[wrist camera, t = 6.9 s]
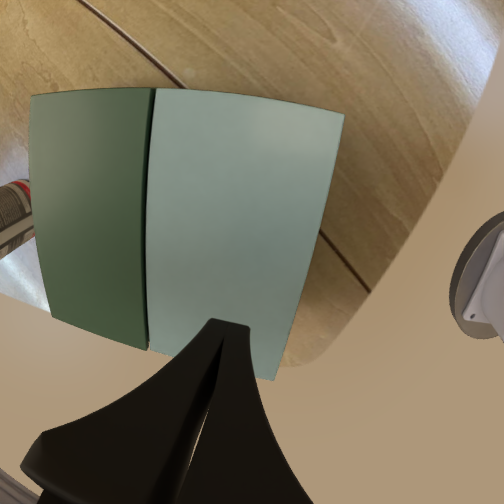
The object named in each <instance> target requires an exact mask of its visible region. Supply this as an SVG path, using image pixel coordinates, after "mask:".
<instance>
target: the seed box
mask: <svg viewBox="0 0 504 504" xmlns="http://www.w3.org/2000/svg"><path fill="white" fill-rule="evenodd" d="M156 89H157V88H151V87H126V88H98V89H83V90H71V91H61V92H52V93H45V94H38V95H32V96H31V101H30V116H29V180H30V195H31V207H32V216H33V225H34V232H35V239H36V246H37V252H38V257H39V263H40V268H41V273H42V278H43V282H44V287H45V291H46V295H47V299H48V303H49V307H50V311H51V315H52V317H54V318H56V319H58V320H61V321H63V322H66V323H68V324H71V325H74V326H76V327H78V328H81V329H84V330H86V331H89V332H92V333H94V334H97V335H100V336H102V337H105V338H108V339H111V340H114V341H117V342H120V343H123V344H126V345H129V346H132V347H135V348H139V349H142V350H145V351H147V349H148V347H149V342H150V340H149V326H148V309H147V286H146V208H147V184H148V167H149V154H150V142H151V131H152V122H153V113H154V105H155V97H156ZM172 89H180V88H172ZM191 90H196V89H191ZM204 91H208V90H204ZM216 92H219V91H216ZM225 93H228V92H225ZM234 94H237V93H234ZM242 95H245V94H242ZM250 96H252V95H250ZM257 97H259V96H257ZM264 98H265V97H264ZM270 99H272V98H270ZM276 100H278V99H276ZM282 101H283V100H282ZM287 102H289V101H287ZM293 103H294V102H293ZM298 104H299V103H298ZM303 105H304V104H303ZM308 106H309V105H308ZM312 107H313V106H312ZM317 108H318V107H317ZM321 109H322V108H321ZM326 110H327V109H326ZM330 111H331V110H330ZM334 112H335V111H334ZM338 113H339V112H338ZM342 114H343V113H342ZM148 341H149V342H148Z"/></svg>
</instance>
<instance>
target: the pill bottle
mask: <svg viewBox="0 0 504 504" xmlns="http://www.w3.org/2000/svg"><path fill="white" fill-rule="evenodd" d="M34 236H35V232H34V225H33V216H32V207H31V195H30V183H29V182H27V181H25V180H16V181H13V182H11V183H8V184H6V185H4V186H2V187H0V260H1V259H2V258H4V257H5V256H6V255H8V254H9V253H11V252H12V251H13V250H15V249H16V248H18V247H19V246H21V245H22V244H24V243H25V242H27V241H28V240H30V239H31V238H33V237H34Z"/></svg>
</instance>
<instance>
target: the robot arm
mask: <svg viewBox="0 0 504 504" xmlns="http://www.w3.org/2000/svg"><path fill="white" fill-rule="evenodd" d="M472 314H473V315H472ZM462 316H463V318H464V320H467V321H475V322H482V323H489V324H491V325H492V326H493V328H494V329H495V330H496V332H497V333H498V335H499V336H500V338H501V339H502V341H503V343H504V230H503V231H501V232H500V233H499V235H498V238H497V241H496V243H495V246H494V248H493V251H492V253H491V256H490V258H489V260H488V263H487V265H486V267H485V269H484V272H483V274H482V276H481V278H480V280H479V283H478V285H477V287H476V289H475V291H474V293H473V295H472V297H471V299H470V301H469V303H468V305H467V306H466V308H465V310H464V312H463V314H462ZM250 330H251V329H250V327H249V326H247V325H243V324H238V323H234V322H229V321H225V320H220V319H216V318H210V319H208V321H207V322H206V324H205V325H204V326H203V327H202V329H201V330H200V331H199V332H198V333H197V335H196V336H195V337H194V338H193V339H192V340H191V341H190V342H189V343H188V344H187V345H186V346H185V347H184V348H183V349H182V350H181V351H180V352H179V353H178V354H177V355H176V356H175V357H174V358H173V359H172V360H171V361H170V362H168V363H167V364H166V365H165V366H164V367H163V368H162V369H160V370H159V371H158V372H157V373H156V374H154V375H153V376H152V377H151V378H149V379H148V380H147V381H145V382H144V383H142V384H141V385H140V386H138V387H137V388H135V389H134V390H132V391H131V392H129V393H128V394H126V395H124V396H123V397H121V398H120V399H118V400H116V401H114V402H113V403H111V404H109V405H107V406H105V407H104V408H102V409H99V410H98V411H95V412H93V413H91V414H89V415H87V416H85V417H83V418H80V419H78V420H75V421H73V422H70V423H67V424H64V425H62V426H59V427H56V428H53V429H50V430H47V431H44V432H42V433H41V435H40V436H39V437H38V438H37V439H36V440H35V442H34V443H33V445H32V446H31V448H30V449H29V451H28V453H27V454H26V456H25V458H24V460H23V461H22V463H21V465H20V468H21V470H22V471H23V472H24V473H25V474H26V475H27V476H28V477H29V478H30V479H31V480H33V481H34V482H35V483H36V484H37V485H39V486H40V487H41V488H42V489H44V490H43V492H42V494H41V496H38V495H36V494H35V493H33V492H32V491H30V490H29V489H28V488H26V487H25V486H23V485H22V484H20V483H19V482H18V481H16V480H15V479H14V478H12V477H11V476H10V475H8V474H7V473H6V472H4V471H3V470H2V469H1V468H0V504H313V502H312V501H311V499H310V498H309V496H308V495H307V494H306V492H305V491H304V489H303V488H302V486H301V485H300V483H299V481H298V480H297V478H296V476H295V475H294V474H293V472H292V470H291V468H290V467H289V464H288V463H287V461H286V459H285V457H284V455H283V453H282V451H281V449H280V447H279V445H278V443H277V441H276V439H275V436H274V434H273V432H272V429H271V427H270V424H269V422H268V419H267V417H266V414H265V411H264V408H263V405H262V402H261V398H260V395H259V391H258V387H257V383H256V379H255V374H254V369H253V364H252V358H251V349H250ZM208 409H209V410H208ZM207 412H208V413H207ZM206 415H207V416H206ZM205 417H206V419H205ZM204 419H205V422H204ZM203 422H204V425H203V428H202V431H201V434H200V437H199V440H198V443H197V446H196V449H195V451H194V454H193V457H192V461H191V463H190V460H191V456H192V453H193V449H194V446H195V443H196V440H197V437H198V435H199V432H200V429H201V427H202V424H203ZM189 463H190V465H189ZM188 467H189V468H188Z"/></svg>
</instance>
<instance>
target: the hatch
mask: <svg viewBox="0 0 504 504" xmlns="http://www.w3.org/2000/svg"><path fill="white" fill-rule="evenodd" d="M344 119H345V114H342V113H338V112H334V111H330V110H326V109H321V108H317V107H312V106H308V105H303V104H298V103H293V102H287V101H282V100H276V99H270V98H264V97H257V96H250V95H242V94H234V93H225V92H216V91H204V90H191V89H172V88H157V89H156V97H155V105H154V113H153V122H152V131H151V142H150V154H149V167H148V184H147V208H146V286H147V309H148V326H149V340H150V350H152V351H155V352H158V353H162V354H165V355H168V356H172V357H175V356H176V355H177V354H178V353H179V352H180V351H181V350H182V349H183V348H184V347H185V346H186V345H187V344H188V343H189V342H190V341H191V340H192V339H193V338H194V337H195V336H196V335H197V333H198V332H199V331H200V330H201V329H202V327H203V326H204V325H205V324H206V322H207V321H208V319H210V318H216V319H220V320H225V321H229V322H234V323H238V324H243V325H247V326H249V327H250V329H251V330H250V349H251V358H252V364H253V369H254V374H255V377H256V378H261V379H266V380H271V381H274V379H275V376H276V373H277V370H278V367H279V364H280V361H281V358H282V355H283V352H284V349H285V346H286V343H287V340H288V337H289V334H290V330H291V327H292V324H293V321H294V317H295V314H296V311H297V307H298V304H299V301H300V297H301V294H302V290H303V287H304V284H305V280H306V277H307V273H308V269H309V266H310V262H311V259H312V255H313V251H314V248H315V244H316V240H317V236H318V232H319V229H320V225H321V221H322V217H323V213H324V209H325V205H326V201H327V196H328V192H329V188H330V184H331V180H332V175H333V171H334V166H335V162H336V157H337V153H338V148H339V144H340V139H341V134H342V129H343V124H344Z"/></svg>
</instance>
